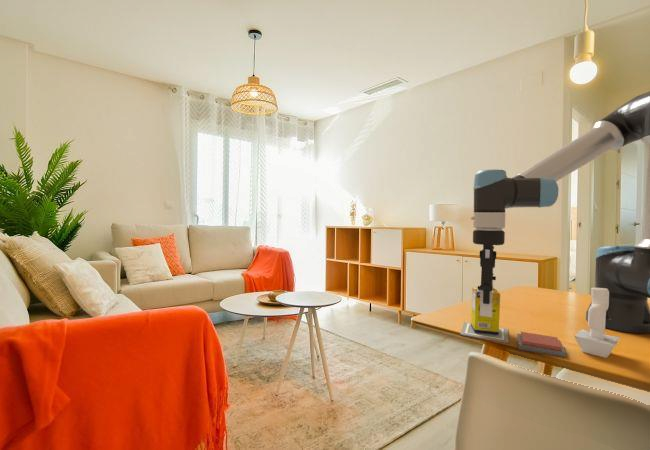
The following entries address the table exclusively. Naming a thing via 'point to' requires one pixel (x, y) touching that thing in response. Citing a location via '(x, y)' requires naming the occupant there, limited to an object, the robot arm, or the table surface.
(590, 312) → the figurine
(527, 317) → the table surface
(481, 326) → the supplement box
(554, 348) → the ink pad
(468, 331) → the marked card
